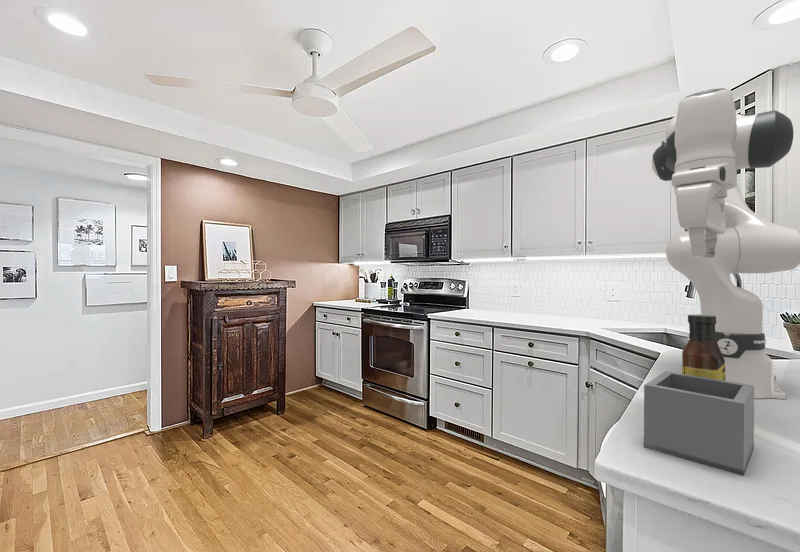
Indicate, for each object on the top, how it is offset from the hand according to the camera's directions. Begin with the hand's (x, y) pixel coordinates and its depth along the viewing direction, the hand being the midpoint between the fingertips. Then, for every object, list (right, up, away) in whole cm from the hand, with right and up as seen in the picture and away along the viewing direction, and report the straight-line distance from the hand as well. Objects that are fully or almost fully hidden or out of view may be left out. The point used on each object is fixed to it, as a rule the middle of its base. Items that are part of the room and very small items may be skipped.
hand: (704, 256), depth 69 cm
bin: (-9, -31, -10) cm, 33 cm away
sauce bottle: (0, -31, 0) cm, 31 cm away
